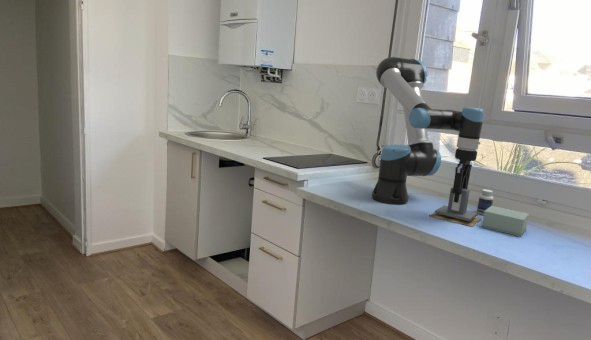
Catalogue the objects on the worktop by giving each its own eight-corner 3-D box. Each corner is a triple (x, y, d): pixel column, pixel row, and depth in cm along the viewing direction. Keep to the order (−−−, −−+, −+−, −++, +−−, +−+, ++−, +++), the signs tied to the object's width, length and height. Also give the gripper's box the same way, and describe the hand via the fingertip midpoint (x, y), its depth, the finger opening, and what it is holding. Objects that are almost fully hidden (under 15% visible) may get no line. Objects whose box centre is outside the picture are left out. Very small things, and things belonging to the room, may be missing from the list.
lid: (434, 212, 168) (438, 187, 166) (443, 207, 176) (447, 183, 174) (469, 221, 160) (474, 195, 158) (477, 215, 169) (481, 190, 167)
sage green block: (481, 226, 160) (484, 211, 159) (488, 220, 169) (491, 205, 167) (520, 236, 152) (524, 220, 151) (526, 229, 161) (529, 213, 160)
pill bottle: (492, 216, 175) (496, 192, 173) (477, 214, 176) (481, 191, 174) (488, 212, 180) (493, 189, 178) (475, 210, 181) (479, 188, 179)
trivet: (429, 216, 167) (429, 215, 167) (440, 209, 179) (441, 208, 179) (472, 227, 158) (472, 226, 158) (481, 219, 170) (481, 218, 169)
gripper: (471, 152, 154) (460, 215, 159) (483, 149, 168) (472, 207, 173) (449, 149, 158) (440, 210, 163) (463, 145, 172) (453, 202, 177)
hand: (457, 208), depth 168 cm, fingers closed on lid, 4 cm apart
